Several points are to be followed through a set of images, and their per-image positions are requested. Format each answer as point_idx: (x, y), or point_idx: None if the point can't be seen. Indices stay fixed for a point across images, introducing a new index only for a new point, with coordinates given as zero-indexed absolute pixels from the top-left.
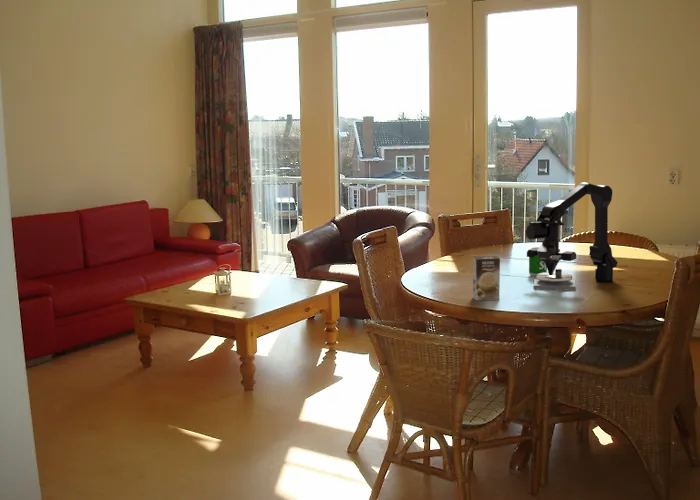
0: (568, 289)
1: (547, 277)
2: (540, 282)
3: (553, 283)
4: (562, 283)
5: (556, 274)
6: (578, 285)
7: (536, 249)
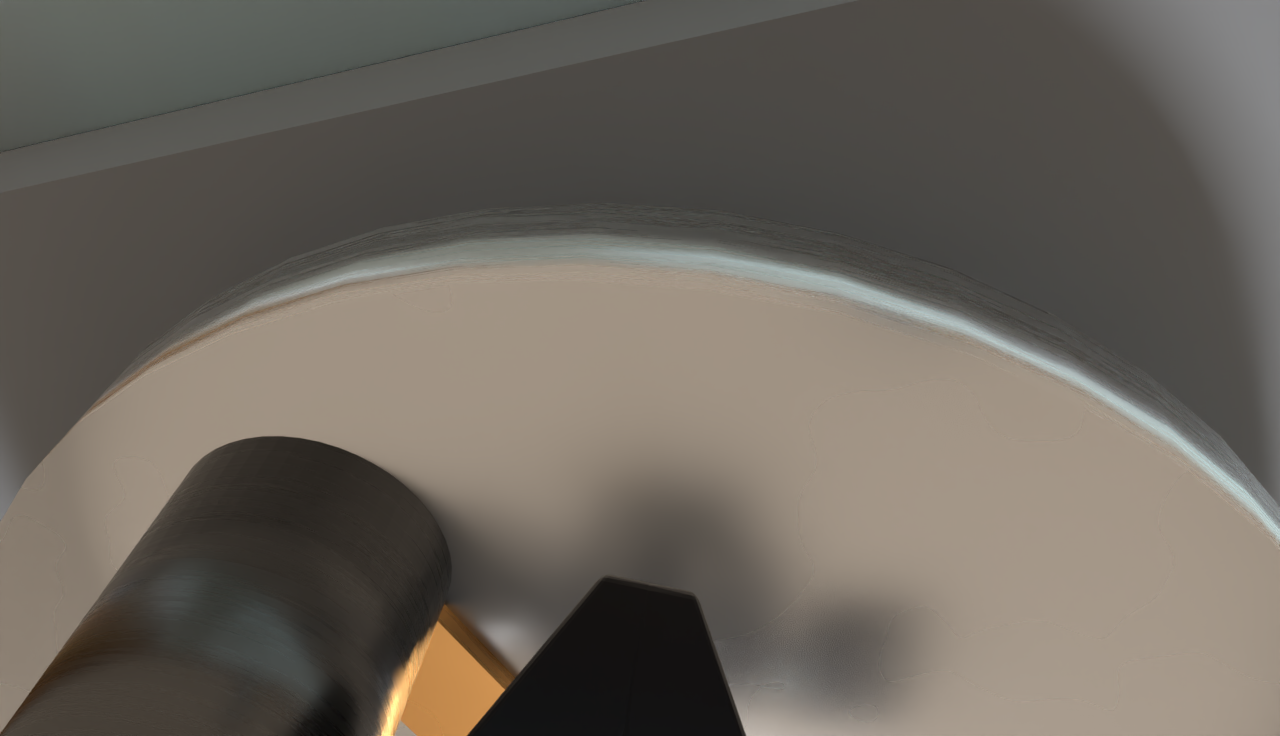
0: (38, 152)
1: (822, 543)
2: None
3: None
4: None
5: (271, 601)
6: None
7: None
